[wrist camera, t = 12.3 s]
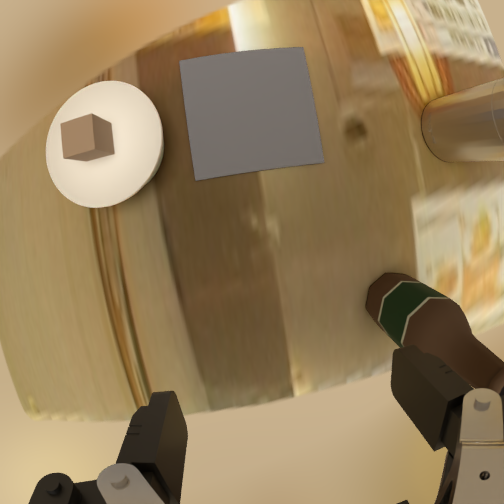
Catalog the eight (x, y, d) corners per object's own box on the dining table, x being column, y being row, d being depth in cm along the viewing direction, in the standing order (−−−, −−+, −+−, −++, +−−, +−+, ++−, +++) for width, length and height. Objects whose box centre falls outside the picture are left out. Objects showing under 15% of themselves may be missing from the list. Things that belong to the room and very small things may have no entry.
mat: (302, 48, 34) (303, 47, 33) (323, 162, 37) (324, 162, 36) (179, 62, 33) (179, 60, 33) (195, 180, 36) (195, 180, 36)
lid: (156, 70, 28) (142, 48, 22) (171, 193, 30) (158, 195, 24) (47, 104, 27) (18, 92, 21) (58, 217, 30) (29, 225, 24)
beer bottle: (358, 280, 40) (479, 377, 16) (408, 262, 40) (542, 330, 17) (368, 331, 42) (467, 444, 18) (414, 312, 42) (528, 399, 18)
